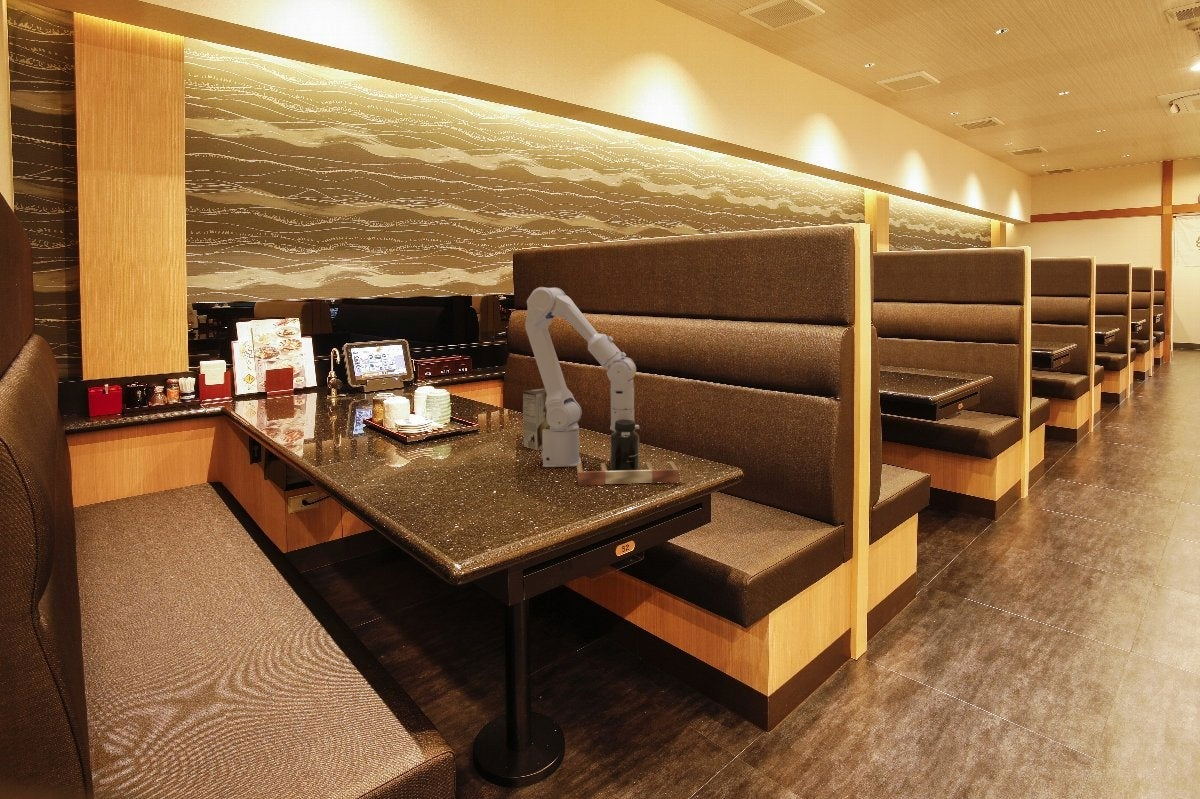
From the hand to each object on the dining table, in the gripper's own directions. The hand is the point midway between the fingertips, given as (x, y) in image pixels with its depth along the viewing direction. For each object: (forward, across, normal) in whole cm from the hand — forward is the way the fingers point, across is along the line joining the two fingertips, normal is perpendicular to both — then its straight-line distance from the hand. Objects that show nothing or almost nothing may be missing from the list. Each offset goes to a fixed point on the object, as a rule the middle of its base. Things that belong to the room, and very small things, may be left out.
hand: (623, 462), depth 170 cm
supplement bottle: (+1, -4, 0) cm, 4 cm away
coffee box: (+1, +25, +20) cm, 32 cm away
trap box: (+1, -11, 0) cm, 11 cm away
